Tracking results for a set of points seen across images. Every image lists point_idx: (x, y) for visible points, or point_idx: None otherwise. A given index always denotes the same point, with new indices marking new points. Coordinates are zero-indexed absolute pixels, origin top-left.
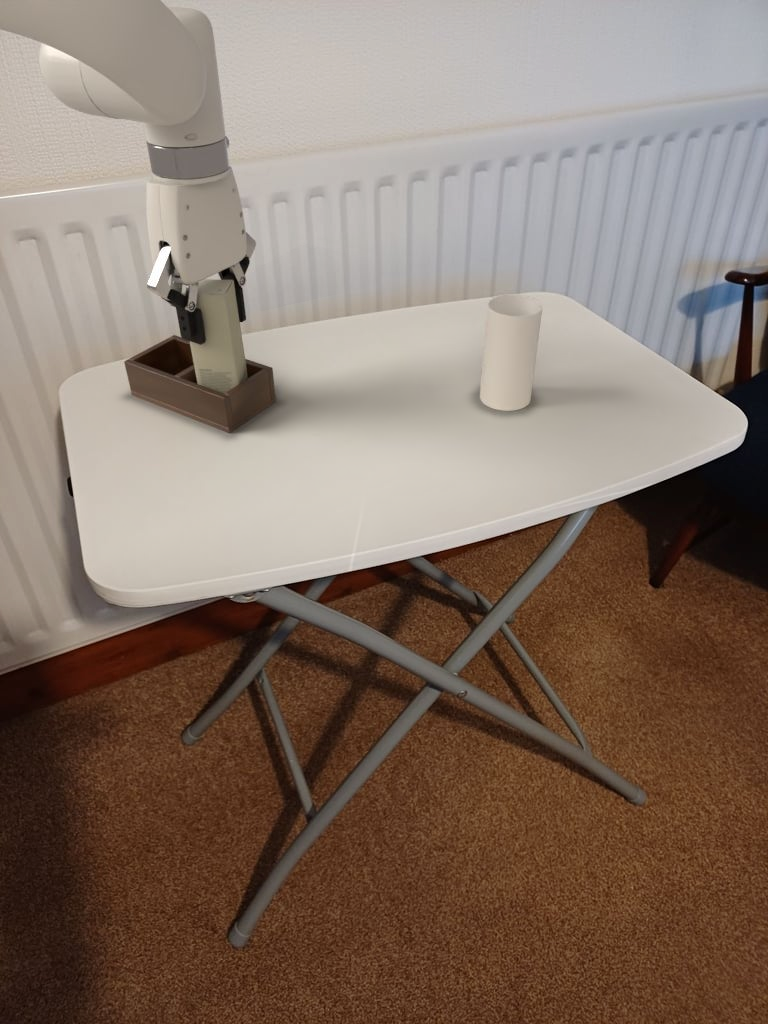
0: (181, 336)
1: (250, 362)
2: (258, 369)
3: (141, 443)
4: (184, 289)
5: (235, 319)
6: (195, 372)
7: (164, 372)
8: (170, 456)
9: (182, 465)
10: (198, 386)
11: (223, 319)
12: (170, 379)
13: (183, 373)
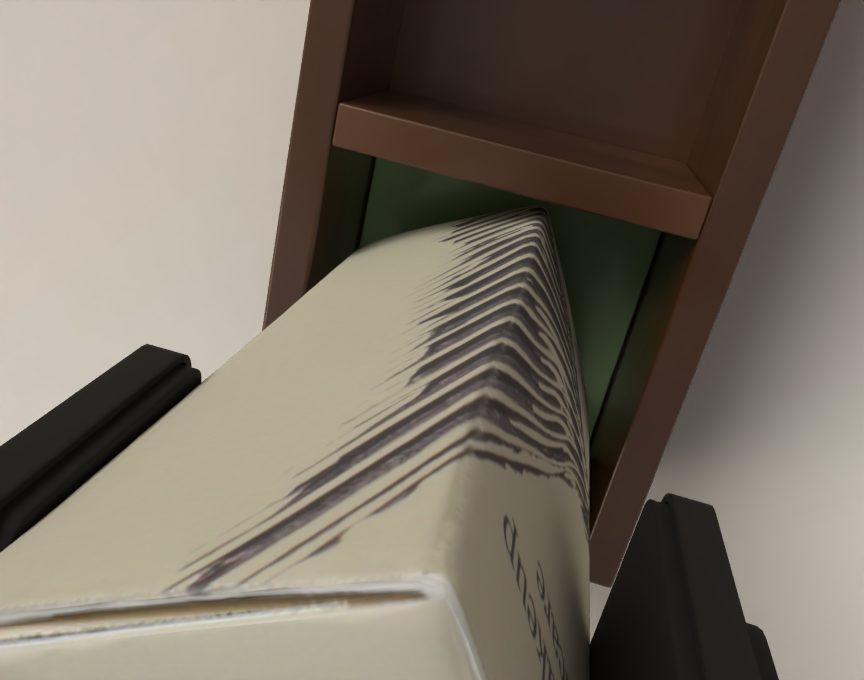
0: (150, 346)
1: (635, 464)
2: (594, 512)
3: (88, 68)
4: (5, 663)
5: None
6: (319, 282)
7: (347, 10)
8: (77, 242)
9: (56, 315)
10: (284, 306)
11: None
12: (296, 97)
13: (381, 142)
